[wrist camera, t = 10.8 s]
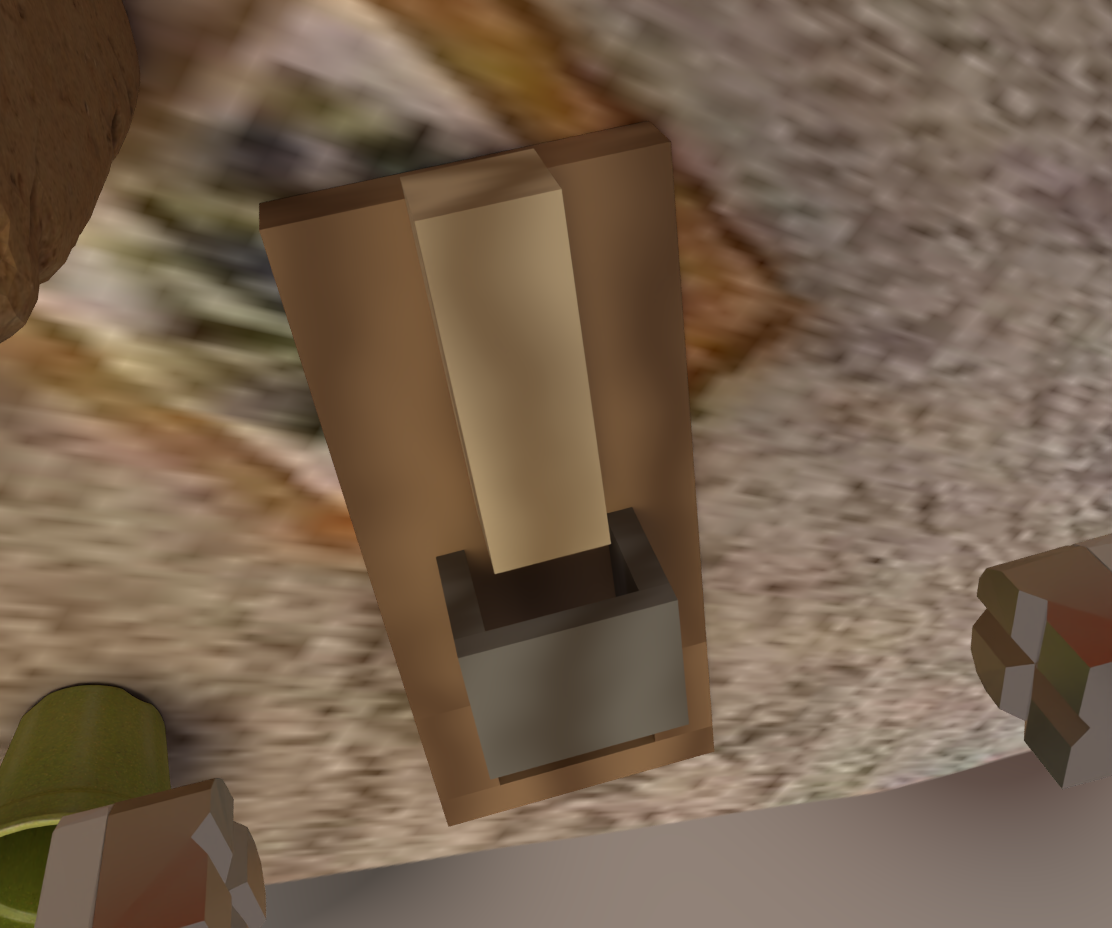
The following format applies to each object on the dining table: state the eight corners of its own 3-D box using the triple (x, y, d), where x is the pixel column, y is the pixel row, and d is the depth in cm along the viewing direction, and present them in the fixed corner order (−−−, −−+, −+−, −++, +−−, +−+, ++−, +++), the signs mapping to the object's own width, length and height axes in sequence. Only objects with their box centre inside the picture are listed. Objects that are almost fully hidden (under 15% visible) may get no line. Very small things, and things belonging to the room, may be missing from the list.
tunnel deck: (648, 120, 38) (735, 203, 31) (697, 715, 56) (758, 849, 50) (259, 203, 36) (259, 309, 29) (441, 786, 55) (467, 935, 48)
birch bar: (533, 148, 35) (561, 189, 32) (584, 484, 43) (611, 543, 40) (399, 177, 34) (414, 221, 31) (476, 511, 43) (494, 574, 39)
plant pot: (215, 786, 51) (209, 949, 44) (4, 815, 49) (-39, 992, 42) (190, 642, 46) (178, 802, 39) (-48, 668, 44) (-106, 842, 37)
